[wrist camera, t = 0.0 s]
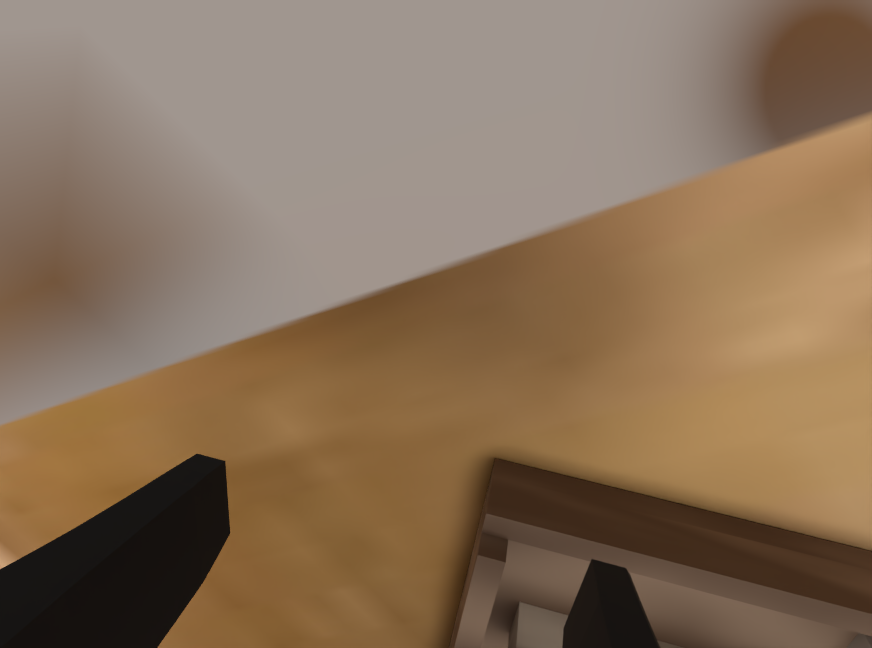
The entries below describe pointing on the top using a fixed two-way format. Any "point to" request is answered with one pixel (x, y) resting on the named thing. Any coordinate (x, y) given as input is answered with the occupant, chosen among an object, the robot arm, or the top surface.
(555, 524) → the walnut tray
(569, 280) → the top surface
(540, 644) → the grey rectangular block
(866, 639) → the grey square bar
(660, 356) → the top surface
